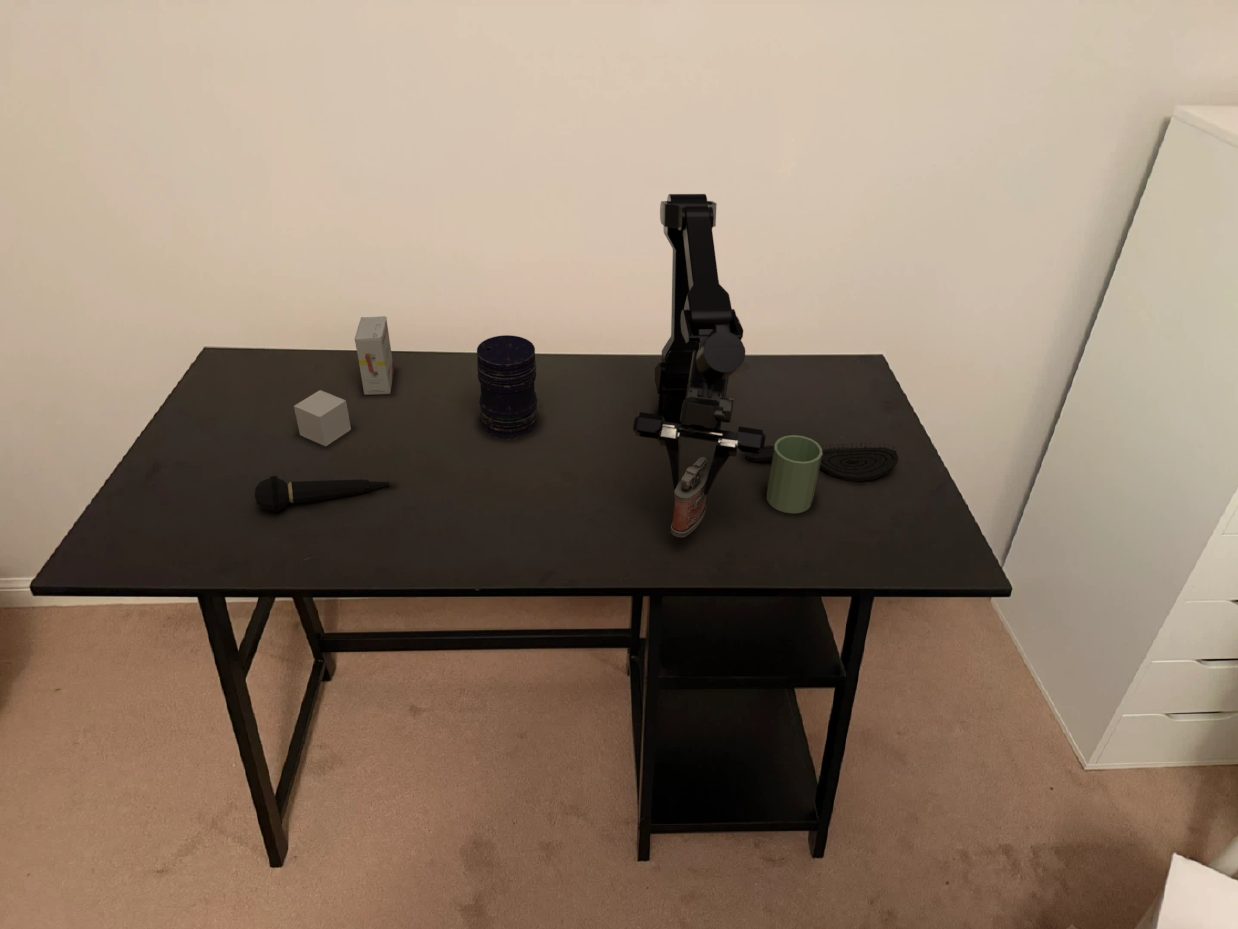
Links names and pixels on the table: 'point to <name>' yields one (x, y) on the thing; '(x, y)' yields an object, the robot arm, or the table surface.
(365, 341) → the ink box
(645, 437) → the robot arm
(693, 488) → the lighter
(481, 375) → the storage jar
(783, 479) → the pen cup
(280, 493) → the microphone
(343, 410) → the light grey cube
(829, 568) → the table surface
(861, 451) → the hairbrush
